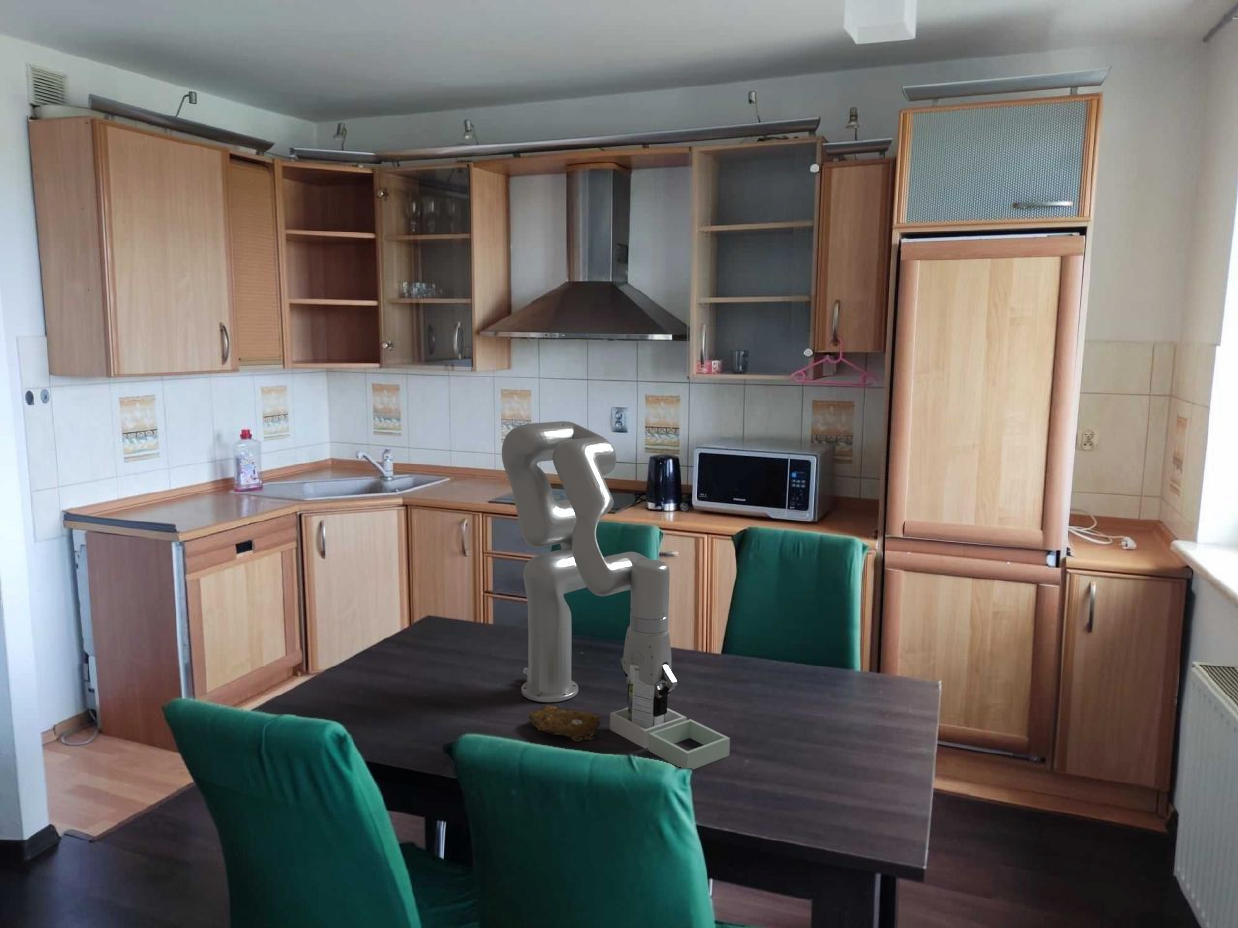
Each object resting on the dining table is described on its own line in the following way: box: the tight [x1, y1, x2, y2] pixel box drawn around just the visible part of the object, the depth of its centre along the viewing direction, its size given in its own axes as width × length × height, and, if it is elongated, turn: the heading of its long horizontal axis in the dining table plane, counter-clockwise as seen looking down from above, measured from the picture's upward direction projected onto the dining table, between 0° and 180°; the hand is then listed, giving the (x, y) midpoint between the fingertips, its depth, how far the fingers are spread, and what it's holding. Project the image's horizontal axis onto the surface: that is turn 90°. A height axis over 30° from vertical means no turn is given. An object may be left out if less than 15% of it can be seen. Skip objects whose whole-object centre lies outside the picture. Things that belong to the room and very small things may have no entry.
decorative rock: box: [527, 705, 601, 743], centre depth 185 cm, size 11×4×15 cm
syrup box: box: [627, 663, 665, 729], centre depth 184 cm, size 6×6×14 cm
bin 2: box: [648, 718, 731, 770], centre depth 175 cm, size 11×11×4 cm
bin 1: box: [609, 707, 688, 749], centre depth 184 cm, size 11×11×4 cm
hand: (647, 707), depth 184 cm, fingers closed on syrup box, 7 cm apart
